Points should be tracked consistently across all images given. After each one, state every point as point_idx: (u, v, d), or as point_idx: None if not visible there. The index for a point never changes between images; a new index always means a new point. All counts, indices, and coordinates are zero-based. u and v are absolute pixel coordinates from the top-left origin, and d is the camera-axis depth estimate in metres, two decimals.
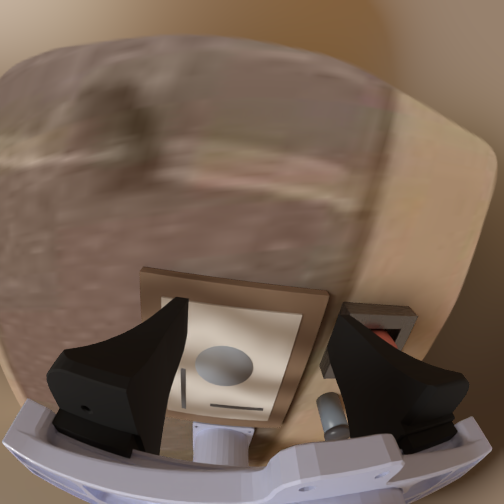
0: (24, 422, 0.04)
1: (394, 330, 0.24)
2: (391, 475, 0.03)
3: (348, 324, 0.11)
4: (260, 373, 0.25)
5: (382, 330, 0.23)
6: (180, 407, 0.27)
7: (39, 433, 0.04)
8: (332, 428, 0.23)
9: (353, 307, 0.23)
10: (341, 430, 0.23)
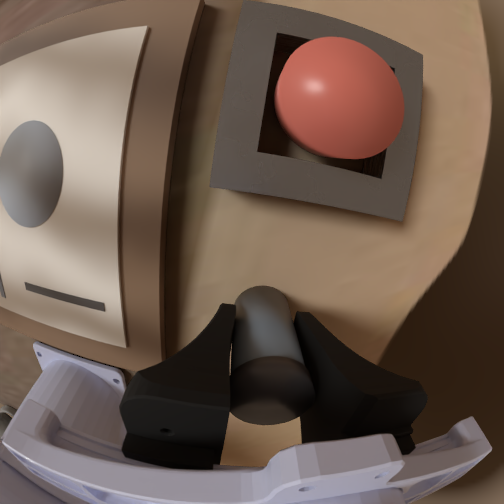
0: (25, 423, 0.04)
1: None
2: (391, 475, 0.03)
3: (303, 321, 0.11)
4: (75, 182, 0.10)
5: None
6: (0, 295, 0.12)
7: (39, 433, 0.04)
8: (245, 365, 0.08)
9: None
10: (273, 373, 0.08)
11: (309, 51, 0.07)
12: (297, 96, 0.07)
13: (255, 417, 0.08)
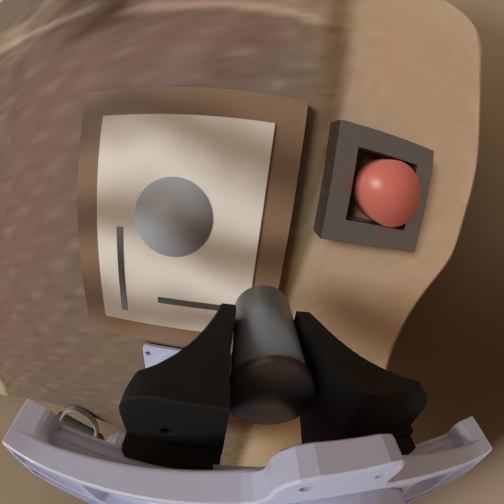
0: (25, 423, 0.04)
1: None
2: (391, 475, 0.03)
3: (303, 321, 0.11)
4: (224, 228, 0.18)
5: None
6: (120, 308, 0.20)
7: (39, 433, 0.04)
8: (246, 364, 0.08)
9: None
10: (273, 372, 0.08)
11: (379, 171, 0.15)
12: (372, 197, 0.15)
13: (256, 417, 0.08)
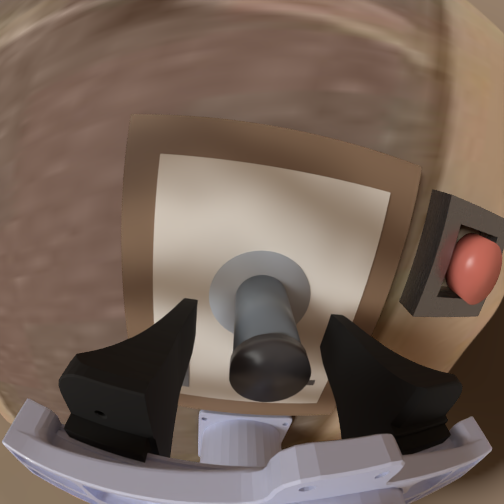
0: (24, 422, 0.04)
1: None
2: (391, 475, 0.03)
3: (340, 324, 0.11)
4: (320, 310, 0.15)
5: (480, 236, 0.13)
6: None
7: (39, 433, 0.04)
8: (247, 342, 0.09)
9: None
10: (271, 347, 0.09)
11: (479, 254, 0.12)
12: (468, 280, 0.12)
13: (256, 394, 0.09)
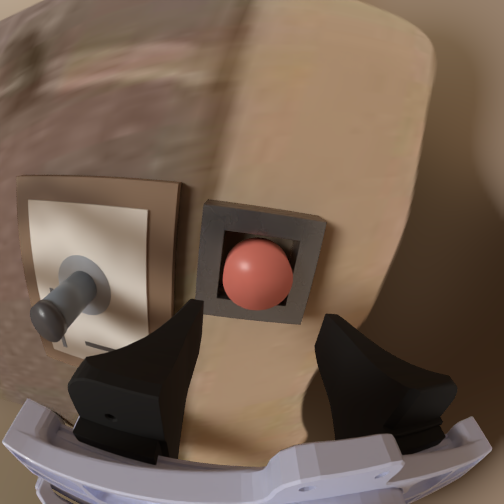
0: (24, 422, 0.04)
1: (296, 247, 0.19)
2: (391, 475, 0.03)
3: (334, 323, 0.11)
4: (119, 298, 0.20)
5: (267, 240, 0.18)
6: (62, 345, 0.22)
7: (39, 433, 0.04)
8: (37, 303, 0.14)
9: (216, 202, 0.18)
10: (38, 305, 0.13)
11: (237, 260, 0.16)
12: (231, 285, 0.17)
13: (45, 334, 0.14)
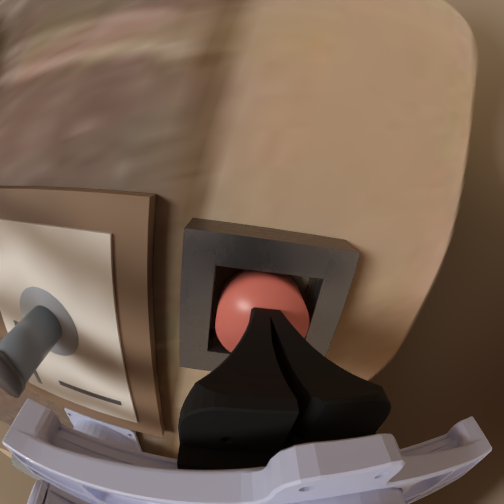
0: (24, 422, 0.04)
1: (315, 285, 0.13)
2: (391, 475, 0.03)
3: (270, 318, 0.11)
4: (88, 340, 0.14)
5: None
6: (37, 381, 0.16)
7: (39, 433, 0.04)
8: None
9: (204, 224, 0.12)
10: None
11: (234, 302, 0.12)
12: (226, 332, 0.12)
13: (3, 387, 0.09)
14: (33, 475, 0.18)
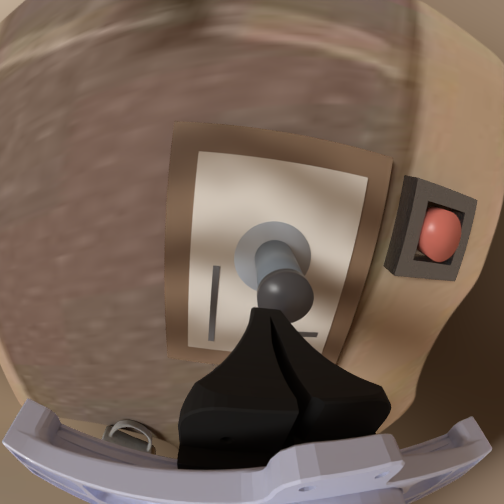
0: (24, 422, 0.04)
1: None
2: (391, 475, 0.03)
3: (270, 318, 0.11)
4: (319, 268, 0.20)
5: None
6: (206, 340, 0.22)
7: (39, 433, 0.04)
8: (269, 275, 0.14)
9: None
10: (286, 275, 0.14)
11: (437, 220, 0.18)
12: (430, 240, 0.18)
13: None
14: None
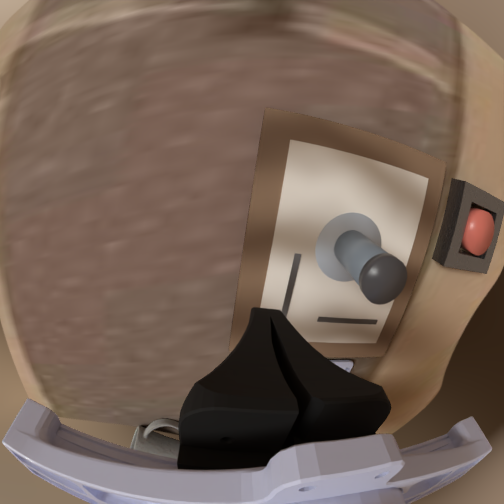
0: (24, 422, 0.04)
1: None
2: (391, 475, 0.03)
3: (270, 318, 0.11)
4: None
5: None
6: None
7: (39, 433, 0.04)
8: (373, 258, 0.14)
9: None
10: (390, 258, 0.14)
11: (478, 219, 0.18)
12: (472, 236, 0.19)
13: (376, 297, 0.15)
14: None
